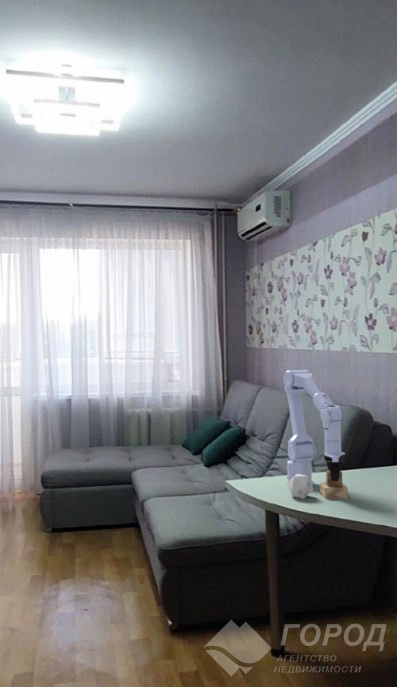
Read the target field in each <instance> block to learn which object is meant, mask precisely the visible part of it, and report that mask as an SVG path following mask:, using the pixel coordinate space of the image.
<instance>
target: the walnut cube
mask: <svg viewBox="0 0 397 687" xmlns="http://www.w3.org/2000/svg"><path fill="white" fill-rule="evenodd" d="M325 476H326V478H325V481H326V482H325V483H326V484H327V486H328V487H342V483H343V472H342V470H341V469H340V474H339V479H338V481H332V480H331V475H330V470H328V469H326V470H325Z"/></svg>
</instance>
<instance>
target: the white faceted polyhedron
mask: <svg viewBox="0 0 397 687" xmlns="http://www.w3.org/2000/svg"><path fill="white" fill-rule="evenodd" d="M286 483H287V487H288V489H289V492H290V494H291V497H293V498H297V499H299V500H300V499H301V500H304V499H305V498H307V497H308V496H309V494H311V493H312V492H313V491H314V487H313V485H312V484H311V482H310V479H309V477H308V476H306V475H301V474H296V475H295V476H294V477H293V478H292V479H291V480H290V481H288V480H287V482H286Z"/></svg>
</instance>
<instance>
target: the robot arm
mask: <svg viewBox="0 0 397 687" xmlns="http://www.w3.org/2000/svg"><path fill="white" fill-rule="evenodd" d="M282 380H283V386H284V392H285V393H286V396H287V402H288V409H289V415H290V416H289V417H290V422H291V430H292V436H291V437H290V439H288V440H287V455H288V457H289V459H290V460H287V474H286V480H287V482H288V481H290V480H291V479H292V478H293V477H294V476H295V475H296V474H301V475H306V476H308V477H309V479H310V482H311V484H312V486H314V484H315V483H314V481H313V478H312V475H313V474H312V472H313V471H312V467H313V466H312V461H314V458H315V457H316V455H317V448H316V446H315V444H314V439H313V438H312V437H311V436H309V435H308V434H307V429H306V423H305V422H306V421H305V414H304V408H303V402H302V396H301V395H302V393H303V392H305V391H306V392H307V393H308V394H309V395H310V396H311V397H312V403H313V405H314V406H315V407H316V409H317V410H318V412H319V413H320V415H319V416H320V419H321V421H322V427H323V429H324V436H323V437H324V453H323V454H324V456H323V459H324V460H325V462H326V466H327V467H326V468H327V470H330V475H331V480H332V481H338V479H339V474H340V470H341V469H342V466H343V464H344V461H340V459H341V457H342V456H344V455H345V454H346V452H343V451H342V437H341V436H342V428H341V426H342V425H341V423H342V421H343V420H344V417H345V414H344V410H343V408H342V406H340V405H337V404H335V403H333V401H332V400H331V398H330V397H329V396H328V395H327V393H326V392H324V391H323V392H322V391H320V389H319V388H318V386H317V384H316V383H315V381H314V376H313V374H312V372H311V370H309V369H298V370H297V369H296V370H286V371H285V373H284V375H283V377H282Z"/></svg>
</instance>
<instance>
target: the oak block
mask: <svg viewBox="0 0 397 687" xmlns="http://www.w3.org/2000/svg"><path fill="white" fill-rule="evenodd" d="M319 490H320V491H319V493H320V495H321V496H322V497H323V498H324V499H325V500H328V499H330V500H331V499H333V500H335V499H349V487H348V486H347V485H346V484H345V483H344V482H342V487H328V486H327V484H326V482H319Z"/></svg>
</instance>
